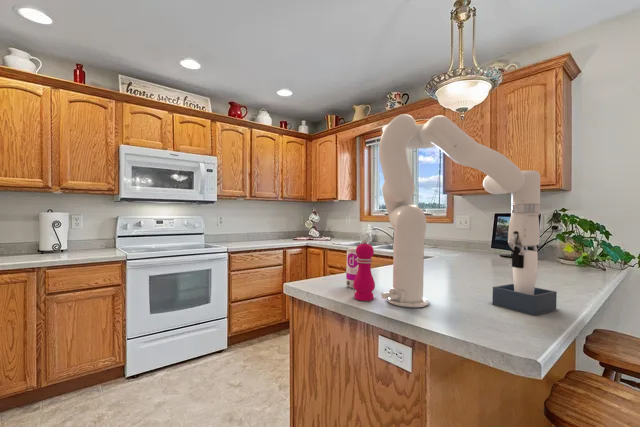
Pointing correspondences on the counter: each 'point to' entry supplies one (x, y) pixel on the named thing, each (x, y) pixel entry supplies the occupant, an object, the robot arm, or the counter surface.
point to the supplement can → (351, 266)
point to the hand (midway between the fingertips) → (524, 266)
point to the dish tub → (525, 299)
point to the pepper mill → (364, 272)
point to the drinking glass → (526, 273)
